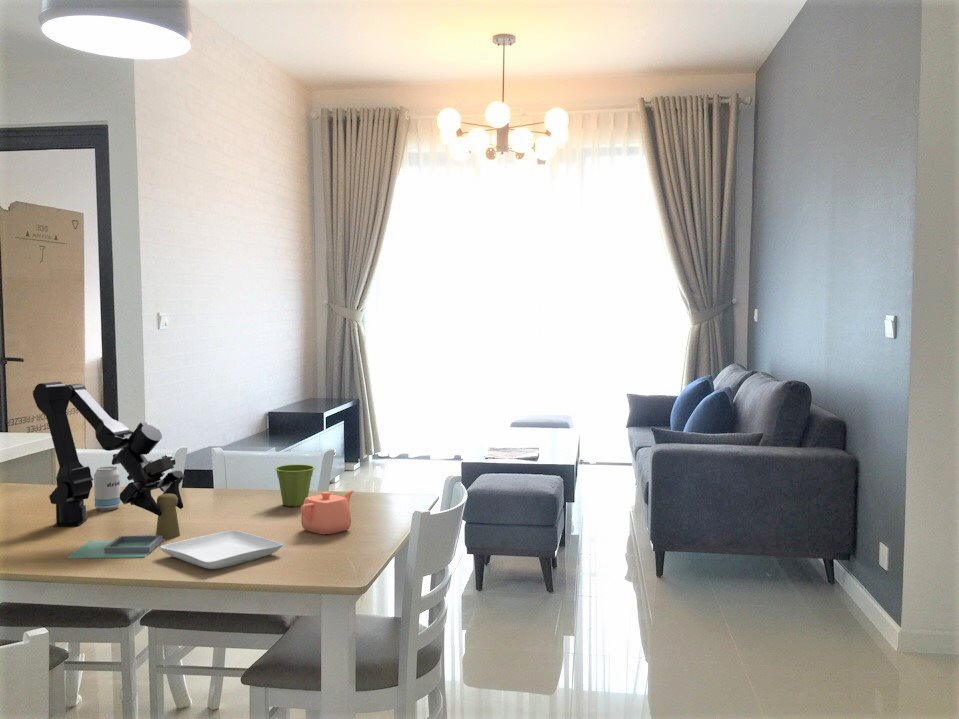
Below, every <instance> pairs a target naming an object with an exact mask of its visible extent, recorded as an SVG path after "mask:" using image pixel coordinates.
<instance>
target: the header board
mask: <svg viewBox="0 0 959 719" xmlns="http://www.w3.org/2000/svg"><path fill="white" fill-rule="evenodd" d="M163 540H164V539H163V535H156V534H155V535H153V534H151V535H149V534H136V535H119V536H118V537H117V538H115V539H114V540H88V541H87V542H86V543H85V544H83V545H82V546H80V547H79V548H78V549H76V550H74V551H73V552H72V553H71V554H70V555H68V556H67V557H66V559H117V558H121V559H122V558H123V559H125V558H127V559H128V558H129V559H130V558H135V559H137V558H146V557H147V556H148V555H149V554H150V553H151V552H153V551H154V549H156V547H158V546H159V545H160V544H161V543H162V542H163Z"/></svg>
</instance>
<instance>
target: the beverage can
mask: <svg viewBox="0 0 959 719" xmlns="http://www.w3.org/2000/svg"><path fill="white" fill-rule="evenodd" d="M95 469H96V470H95V472H94V474H93V482H94V483H93V490H94V508H96V509H98V511H104V512H105V511H115V510H116V509H117V508H118V507H119V506H120V505H121V500H120V493H121V476H120V475H121V474H120V471H119V470H118V467H117V466H101V467H97V468H95Z"/></svg>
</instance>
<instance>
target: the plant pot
mask: <svg viewBox="0 0 959 719" xmlns="http://www.w3.org/2000/svg"><path fill="white" fill-rule="evenodd" d="M315 469H316V467H315V466H313V465H311V464H285V465H278V466H276V467H274V470H275V471H276V474H277V479H278V484H279V490H280V496H281V501H282V505H283V506H284V505H285V506H287V507H290V506H294V507H296V506H298V507H301V506H302V505H304V501H305V498H307V497H309V495H310V494H309V493H310V488H311V482H312V477H313V474H314V473H313V472H314V470H315Z"/></svg>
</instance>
